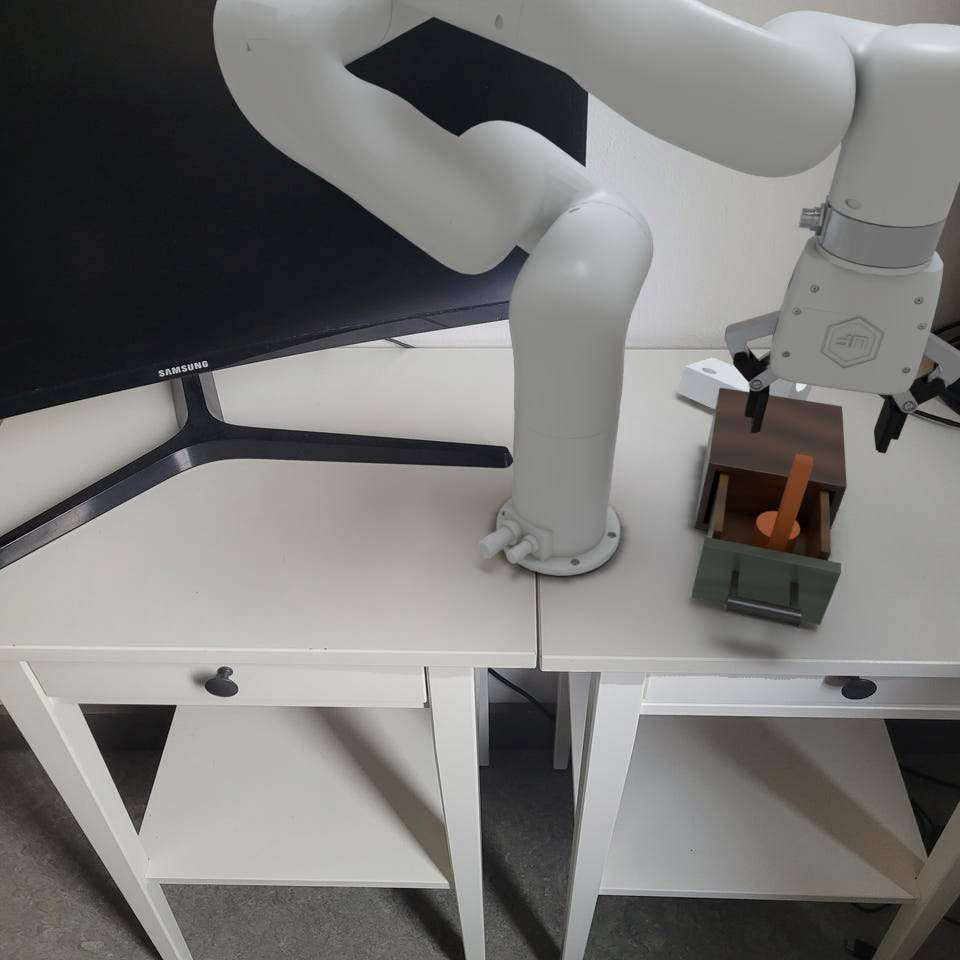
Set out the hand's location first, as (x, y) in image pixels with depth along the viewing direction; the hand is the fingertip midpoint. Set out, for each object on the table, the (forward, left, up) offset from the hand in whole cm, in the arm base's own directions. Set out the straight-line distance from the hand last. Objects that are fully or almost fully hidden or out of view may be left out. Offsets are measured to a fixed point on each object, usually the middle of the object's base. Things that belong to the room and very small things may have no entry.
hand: (816, 433), depth 67 cm
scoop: (+1, +1, -16) cm, 16 cm away
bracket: (+24, +19, -18) cm, 35 cm away
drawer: (-2, +1, -17) cm, 17 cm away
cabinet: (+10, +7, -18) cm, 22 cm away
